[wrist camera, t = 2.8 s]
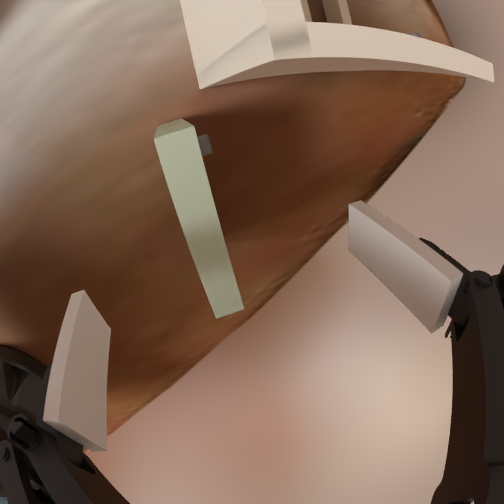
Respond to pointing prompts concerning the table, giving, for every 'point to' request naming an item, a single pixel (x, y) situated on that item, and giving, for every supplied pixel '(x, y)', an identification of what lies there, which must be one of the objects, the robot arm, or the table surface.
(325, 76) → the table surface
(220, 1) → the cabinet
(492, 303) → the robot arm
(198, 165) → the door
